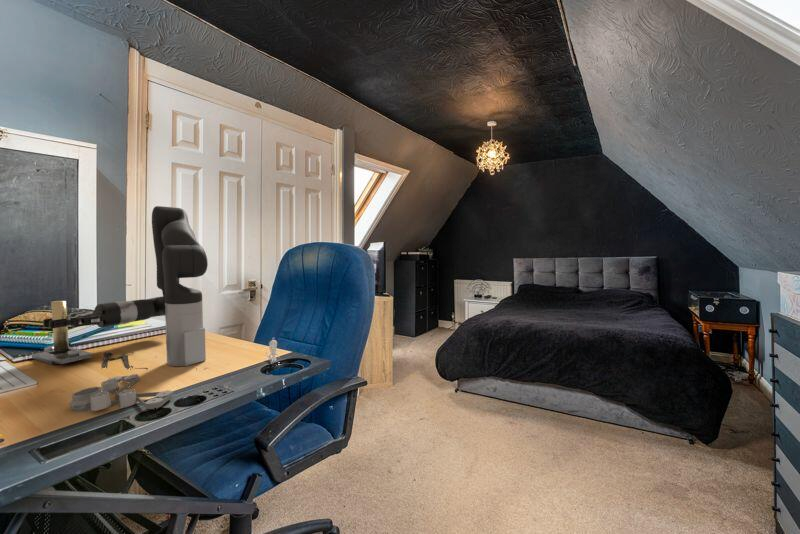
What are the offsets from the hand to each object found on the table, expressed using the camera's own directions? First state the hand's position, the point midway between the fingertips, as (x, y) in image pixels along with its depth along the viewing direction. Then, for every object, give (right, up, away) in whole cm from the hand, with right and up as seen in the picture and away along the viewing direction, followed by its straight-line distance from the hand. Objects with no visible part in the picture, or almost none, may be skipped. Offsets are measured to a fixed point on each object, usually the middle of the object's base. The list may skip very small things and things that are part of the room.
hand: (47, 324), depth 105 cm
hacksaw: (+21, -12, +1) cm, 24 cm away
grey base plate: (+1, -11, +3) cm, 11 cm away
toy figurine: (+63, -11, +2) cm, 64 cm away
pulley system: (+37, -13, -24) cm, 46 cm away
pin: (+1, -8, +3) cm, 8 cm away
